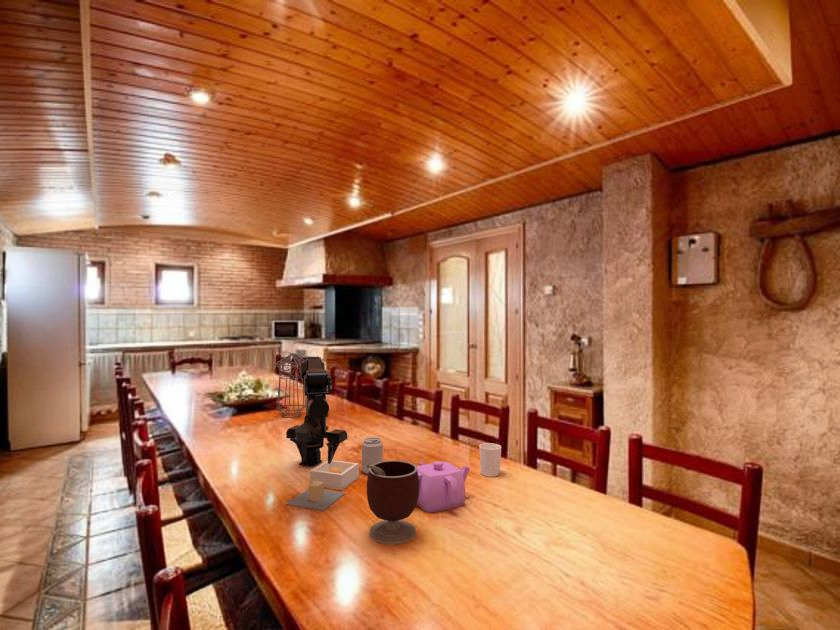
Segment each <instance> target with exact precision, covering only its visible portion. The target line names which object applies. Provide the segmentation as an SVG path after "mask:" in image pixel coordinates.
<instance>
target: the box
mask: <svg viewBox="0 0 840 630" xmlns="http://www.w3.org/2000/svg"><path fill="white" fill-rule="evenodd" d="M359 466H360V464H359V463H358V462H357V463H356V462H349V461H341V460H336V459H335V460H334V459H332V462H331V463H330V464H328V459H327V460H326V461H324V462H321V463H320V464H318V465H316V466H314V468H312V469H311V470H310V472H309V485H310V484H312V483H313V482H315V481H320V482H324V489H331V490H338V491H343V490H344V489H346V488H347V487H348V486H350V485H351V484H352V483H353V482H355V481H356V480H357V479H359ZM334 467H337V468H339V469H340V471H341V474H339V473H332V472H329V471H330V470H331V469H332V468H334Z"/></svg>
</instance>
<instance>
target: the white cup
mask: <svg viewBox="0 0 840 630" xmlns="http://www.w3.org/2000/svg"><path fill="white" fill-rule="evenodd" d="M478 449H479V465H480V474H481V475H482V476H484V477H491V478H494V477H495V478H496V477H498V476H500V472H501V470H500V469H501V460H502V457H501V456H502V445H500V444H497V443H492V442H491V443H490V442H484V443H481V444H479V447H478Z"/></svg>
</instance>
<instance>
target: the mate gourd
mask: <svg viewBox="0 0 840 630" xmlns="http://www.w3.org/2000/svg"><path fill="white" fill-rule="evenodd" d="M417 466H418V465H416V464H414V463H413V462H409V461H406V460H398V459H397V460H396V459H394V460H392V459H391V460H383V461H382V462H378V463H375V464H373V465H367V468H369V473H368V474H367V479H366V497H367V503H368V508H369V509H370V510H371V512H372V513H373V514H374V516H375V517H377V519H380V520H381V521H379V522H376V523H374V524H373V525H371V527H370V529H369V537H370V538H371V539H372V540H373V541H374V542H376V543H379V544H382V545H390V546H391V545H392V546H393V545H401V544H405V543H408V542H410V541H412V540H413V539H414V538H415V536H416V533H417V531H416V530H417V529H416V527H415V525H414V524H412V523H411V522H409V521H407V520H406V519H407V518H408V517H410V516H411V515H412V513H413V511H415V509H416V508H417V506H418V505H417V502H418V497H419V477H418V472H417Z"/></svg>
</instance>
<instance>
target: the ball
mask: <svg viewBox="0 0 840 630" xmlns="http://www.w3.org/2000/svg"><path fill="white" fill-rule="evenodd" d="M329 472H332V473H339V474H341V471H340V469H339V468H337V467H334V468H332V469H331V470H330V471H329Z"/></svg>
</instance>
